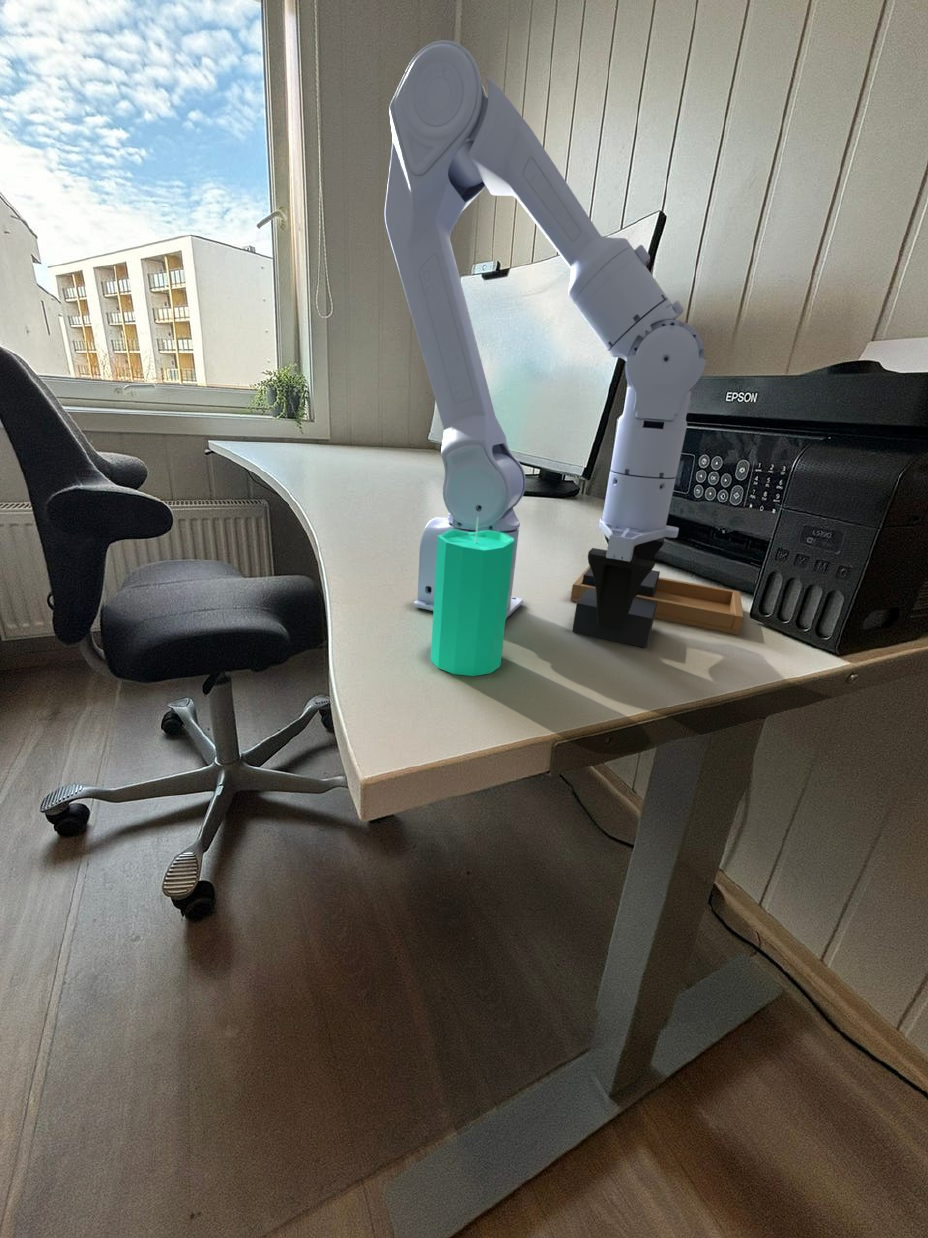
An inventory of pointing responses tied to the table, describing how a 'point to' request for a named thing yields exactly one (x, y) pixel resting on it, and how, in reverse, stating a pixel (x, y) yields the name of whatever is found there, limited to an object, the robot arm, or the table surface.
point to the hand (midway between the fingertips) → (616, 615)
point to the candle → (470, 600)
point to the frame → (689, 604)
